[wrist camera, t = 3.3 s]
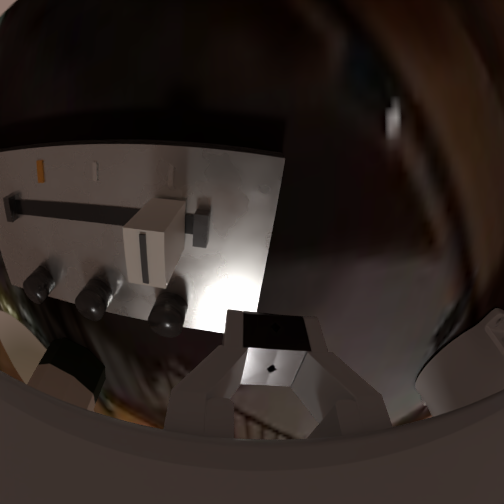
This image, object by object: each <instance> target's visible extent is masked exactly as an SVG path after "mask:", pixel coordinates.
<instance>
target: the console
mask: <svg viewBox="0 0 504 504" xmlns="http://www.w3.org/2000/svg"><path fill="white" fill-rule="evenodd" d="M284 163H285V157H284V155H283V154H282V153H281V152H274V151H268V150H261V149H254V148H247V147H239V146H230V145H221V144H211V143H199V142H186V141H170V140H143V139H102V140H76V141H61V142H49V143H39V144H30V145H22V146H15V147H8V148H2V149H0V250H1V253H2V257H3V260H4V263H5V266H6V269H7V272H8V275H9V278H10V281H11V284H12V285H15V286H18V287H21V288H23V289H24V291H25V293H26V295H27V296H28V297H29V299H30V300H32V301H33V302H34V303H36V304H42V303H43V301H44V300H45V299H46V298H47V296H49V297H53V298H56V299H60V300H63V301H67V302H70V303H74V304H75V305H76V307H77V309H78V311H79V312H80V313H81V314H82V315H83V316H84V317H86V318H88V319H90V320H93V321H98V320H100V319H101V318H102V316H103V314H104V313H105V311H106V312H110V313H115V314H119V315H124V316H128V317H133V318H138V319H143V320H148V324H149V326H150V328H151V329H152V330H153V331H154V332H156V333H157V334H159V335H161V336H165V337H175V336H178V335H179V334H180V333H181V331H182V328H183V327H188V328H194V329H201V330H208V331H215V332H222V333H224V326H225V319H226V312H227V309H234V310H242V311H243V310H244V311H251V312H256V310H257V306H258V301H259V296H260V290H261V285H262V280H263V275H264V270H265V265H266V260H267V255H268V249H269V244H270V239H271V234H272V228H273V223H274V218H275V212H276V207H277V202H278V196H279V191H280V185H281V180H282V174H283V168H284ZM152 198H160V199H170V200H179V201H186V209H185V237H184V250H183V252H182V254H181V256H180V259H179V261H178V263H177V265H176V267H175V269H174V272H173V274H172V276H171V278H170V281H169V283H168V285H167V287H166V289H165V288H158V287H152V286H146V285H141V284H135V283H129V282H128V275H127V267H126V259H125V249H124V239H123V226H124V225H125V224H126V223H127V222H128V221H129V220H130V219H131V218H132V217H133V216H134V215H135V214H136V213H137V212H138V211H139V210H140V209H141V208H142V207H143V206H144V205H145V204H146V203H147V202H148V201H149V200H151V199H152Z"/></svg>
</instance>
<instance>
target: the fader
mask: <svg viewBox="0 0 504 504" xmlns="http://www.w3.org/2000/svg"><path fill="white" fill-rule="evenodd" d="M185 209H186V201H179V200H170V199H160V198H152V199H151V200H149V201H148V202H147V203H146V204H145V205H144V206H143V207H142V208H141V209H140V210H139V211H138V212H137V213H136V214H135V215H134V216H133V217H132V218H131V219H130V220H129V221H128V222H127V223H126V224H125V225H124V226H123V239H124V249H125V259H126V267H127V275H128V282H129V283H135V284H141V285H146V286H152V287H158V288H165V289H166V287H167V285H168V283H169V281H170V278H171V276H172V274H173V272H174V269H175V267H176V265H177V263H178V261H179V259H180V256H181V254H182V252H183V250H184V237H185Z"/></svg>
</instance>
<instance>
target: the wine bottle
mask: <svg viewBox="0 0 504 504" xmlns="http://www.w3.org/2000/svg"><path fill="white" fill-rule="evenodd" d="M104 381H105V366H104V365H103V364H102V363H101V362H100V361H99V360H98V359H97V358H96V357H95V356H94V355H93V354H92V353H91V352H90V351H89V350H88V349H87V348H84V347H82V346H80V345H78V344H76V343H74V342H72V341H70V340H68V339H66V338H62V339H58V340H54V341H52V343H51V344H50V346H49V347H48V349H47V351H46V353H45V354H44V356H43V358H42V359H41V361H40V363H39V365H38V366H37V368H36V370H35V371H34V373H33V375H32V377H31V379H30V380H29V382H28V384H27V385H28V386H31V387H33V388H35V389H37V390H39V391H41V392H43V393H46V394H48V395H50V396H53V397H55V398H57V399H60V400H62V401H65V402H68V403H70V404H73V405H76V406H78V407H81V408H84V409H87V410H90V411H93V409H94V406H95V404H96V401H97V398H98V396H99V393H100V391H101V388H102V386H103V383H104Z"/></svg>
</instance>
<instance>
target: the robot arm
mask: <svg viewBox="0 0 504 504" xmlns="http://www.w3.org/2000/svg"><path fill="white" fill-rule="evenodd" d="M240 384H252V385H274V386H291V388H292V390H293V391H294V392H295V394H296V395H297V396H298V398H299V399H300V400H301V401H302V403H303V404H304V405H305V407H306V408H307V409H308V410H309V412H310V413H311V414H312V415H313V417H314V418H315V419H316V420H317V422H318V423H319V425H318V426H317V427H316V428H315V430H314V431H313V432H312V433H311V434H310V435H309V437H308V439H290V440H255V439H234V403H233V402H232V401H231V400H230V398H231V397H232V395H233V394H234V393H235V391H236V390H237V389H238V387H239V386H240ZM415 389H416V391H417V392H418V393H419V394H420V395H421V401H422V403H423V404H424V405H427V407H428V408H429V410H430V412H431V414H432V416H433V417H431V418H427V419H424V420H420V421H416V422H413V423H409V424H405V425H400V426H396V427H392V424H391V421H390V418H389V415H388V412H387V409H386V406H385V404H384V401H383V398H382V395H381V394H380V393H378V392H377V391H376V390H375V389H374V388H373V387H371V386H370V385H369V384H368V383H367V382H366V381H365V380H363V379H362V378H361V377H360V376H359V375H358V374H357V373H355V372H354V371H353V370H352V369H351V368H350V367H349V366H347V365H346V364H345V363H344V362H343V361H342V360H341V359H339V358H338V357H337V356H336V355H335V354H334V353H333V352H328V349H327V346H326V343H325V339H324V336H323V333H322V330H321V326H320V323H319V320H318V318H317V317H311V316H302V317H301V316H290V315H277V314H268V313H259V312H251V311H244V310H243V311H242V310H234V309H227V312H226V319H225V326H224V334H223V342H222V345H219V346H218V347H217V348H216V349H215V350H214V351H213V352H212V353H211V354H210V355H208V356H207V357H206V358H205V359H204V360H203V361H202V362H201V363H200V364H199V365H198V366H197V367H196V368H195V369H193V370H192V371H191V372H190V373H189V374H188V375H187V376H186V377H185V378H184V379H183V380H181V381H180V382H179V383H178V384H177V385H176V386H175V387H174V388H173V389H171V394H170V399H169V404H168V409H167V414H166V419H165V424H164V430H163V429H158V428H153V427H148V426H144V425H139V424H135V423H131V422H127V421H123V420H119V419H116V418H112V417H109V416H106V415H102V414H99V413H96V412H93V411H90V410H87V409H84V408H81V407H78V406H76V405H73V404H70V403H68V402H65V401H62V400H60V399H57V398H55V397H53V396H50V395H48V394H46V393H43V392H41V391H39V390H37V389H35V388H33V387H31V386H28V385H26V384H24V383H22V382H20V381H19V380H17V379H15V378H13V377H11V376H9V375H7V374H5V373H4V372H2V371H0V504H504V310H502V309H499V308H495V309H494V310H492V311H491V312H490V313H489V314H488V315H487V316H486V317H485V318H484V319H483V320H482V321H481V322H479V323H478V324H477V325H476V326H474V327H473V328H471V329H469V330H468V331H466V332H464V333H463V334H461V335H460V336H459V337H457V338H456V339H454V340H453V341H452V342H450V343H449V344H448V345H447V346H446V347H444V348H443V349H442V350H441V351H440V352H439V353H438V354H437V355H436V356H435V357H434V358H433V359H432V360H431V361H430V362H429V363H428V364H427V365H426V366H425V368H424V369H423V370H422V372H421V373H420V375H419V376H418V378H417V380H416V383H415Z"/></svg>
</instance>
